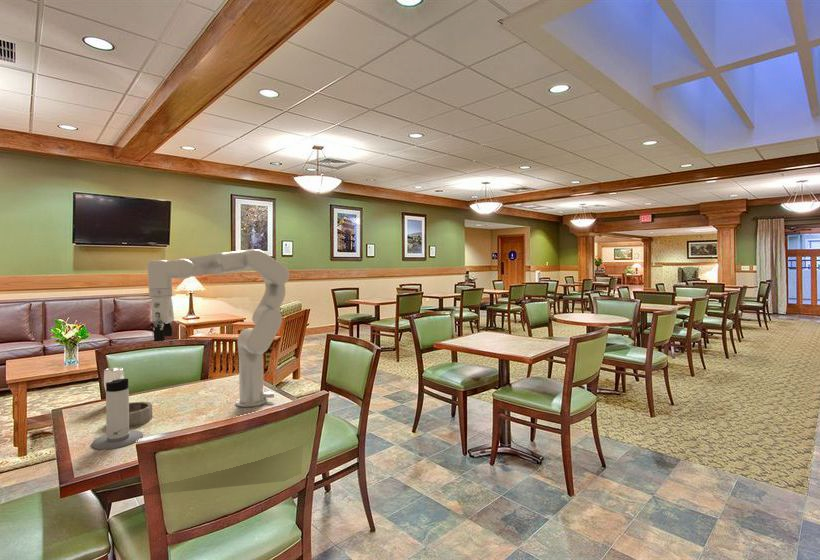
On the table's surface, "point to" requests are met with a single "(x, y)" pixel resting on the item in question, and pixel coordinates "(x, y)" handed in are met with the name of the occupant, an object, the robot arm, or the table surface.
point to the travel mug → (117, 410)
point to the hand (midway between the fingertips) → (163, 338)
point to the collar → (139, 413)
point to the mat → (104, 444)
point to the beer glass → (113, 374)
